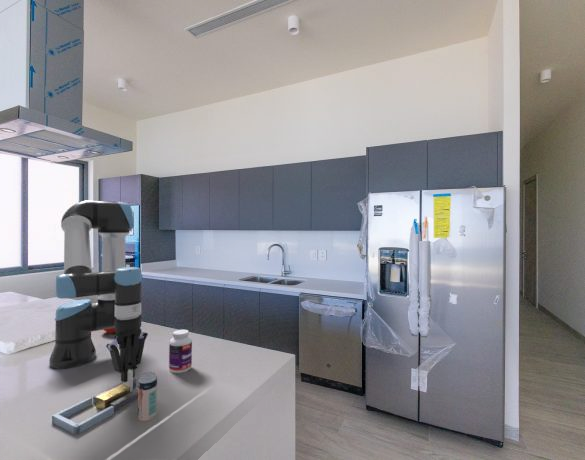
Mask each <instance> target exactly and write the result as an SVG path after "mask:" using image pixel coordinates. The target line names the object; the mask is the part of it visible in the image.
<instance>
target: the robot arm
mask: <svg viewBox="0 0 585 460" xmlns="http://www.w3.org/2000/svg"><path fill="white" fill-rule="evenodd" d="M134 219H135V218H134V213H133V208H132V206H131V205H130V203H127V202H124V201H123V202H122V201H107V200H104V201H103V200H93V199H92V200H91V199H90V200H89V199H88V200H86V199H85V200H82V201H79V202H77V203H75V204H73V205H71V206H70V207H69V208H68V209H66V211H65V212H64V214H63V216H62V218H61V222H60V227H61V230H62V232H64V233H63V235H64V237H63V238H64V239H63V240H64V241H63V242H64V246H63V247H64V249H63V274H58V275H57V276H55V277H56V279H55V296H56V298H57V299H60V300H61V299H75V298H83V297H91V296H97V301H96V302H92V299H89V298H87V299H85V298H84V299H77V300H73V301H69V302H66V303H64V304H61V305H59V306H58V307H57V308H56V310H55V318H54V321H55V336H54V338H55V339H54V340H55V341H54V347H53V349H52V352H51V355H50V357H49V360H48V361H49V367H51V368H53V369H69V368H73V367H74V368H75V367H77V366H82V365H84V364H85V365H86V364H87V363H89V362H91V361H93V360H94V359H95V358H96V357H97V350H96V347H95V345H94V342H93V339H92V332H97V331H104V329H110V328H115V332H116V333H114V337H113V340H112V342H110V343H107V344H106V346H105V347H106V349H108V351H109V353H110V357H111V358H110V359H111V361H112V366H113V370H114V372H116V373H120V381H121V383H122V382H123V385H125V386H128V387H130V391H132V390H133V378H136V377H135V375H136V374H135V373H136V369H138V365H140V364H141V362H142V357H143V352H144V347H145V343H146V339H147V337H148V334H149V333H148V332H145V331H142V328H141V327H142V315H141V314H142V287H143V286H142V282H143V281H142V280H143V276H142V270H141V268H139V267H138V266H137V267H136V266H127V267H126V238H127V236H128V235H129V234H130V230H133V229H134V226H135V220H134ZM92 229H94V230H95V229H96V230H97V234H98V235H100V236H101V237H102V240H101V242H102V245H101V271H100V272H99V271H96V272H93V271H92V259H91V258H92V256H91V255H92V254H91V243H90V242H91V241H90V239H91V237H90V231H91V230H92Z"/></svg>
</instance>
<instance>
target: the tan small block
mask: <svg viewBox="0 0 585 460" xmlns="http://www.w3.org/2000/svg"><path fill="white" fill-rule="evenodd" d="M117 399H118V394H117V393H115V392H112V391H110V390H109V391H107V392H105V393H103V394H101V395H99V396H97V397H96V404H95V407H96V408H97V409H99V410H101V411H103V410H105V409H106V408H108V407H110V403H112V402H114V401H115V400H117Z"/></svg>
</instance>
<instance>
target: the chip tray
mask: <svg viewBox="0 0 585 460" xmlns="http://www.w3.org/2000/svg"><path fill="white" fill-rule="evenodd" d="M92 405H93V396H92V397H91V396H89V397H87V398H85V399H83V400H81V401H79V402H77V403H75V404H73V405H70V406H68V407H67V408H65V409H62V410H60V411H59V412H56V413H55V414H53V415H51V423H52V424H54V425H55V426H58V427H60V428H62V429H63V430H66V431H68V432H69V433H71V434H73V435H75V436H77V435H79V434H80V433H82V432H84V431H86V430H88V429H89V428H91V427H93V426H95V425H96V424H98V423H99V422H101V421H103V420H105V419H106V418H108V417H110V416H112V415H114V414H115V412H114V406H110V407H108V408H106V409H105V410H101V411H98V412H97V413H95V414H94V415H92V416H90V417H88V418H86V419H85V420H83V421H80V422H78V423H77V422H75V421H72V420H71V419H69V418H68V417H70V416H72V415H74V414H76V413H78V412H81V410H85V409H86V408H87V407H89V406H92Z"/></svg>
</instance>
